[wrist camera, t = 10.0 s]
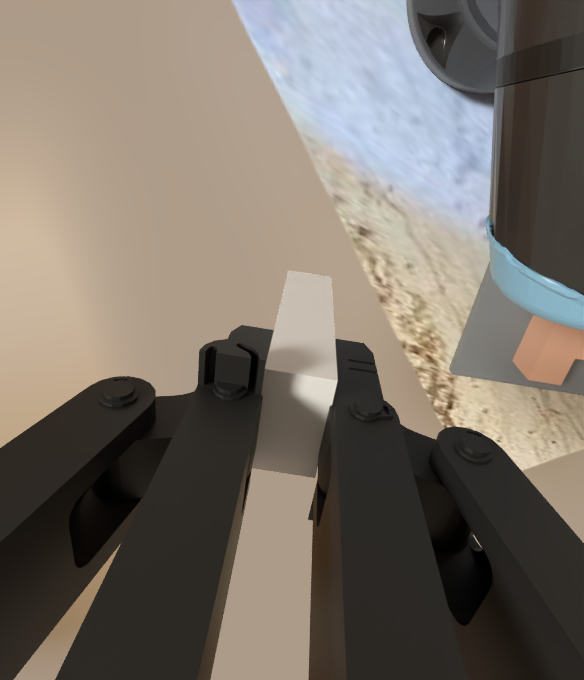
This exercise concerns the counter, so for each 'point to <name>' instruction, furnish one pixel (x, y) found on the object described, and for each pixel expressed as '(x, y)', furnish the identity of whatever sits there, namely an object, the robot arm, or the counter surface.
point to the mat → (501, 343)
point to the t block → (548, 351)
